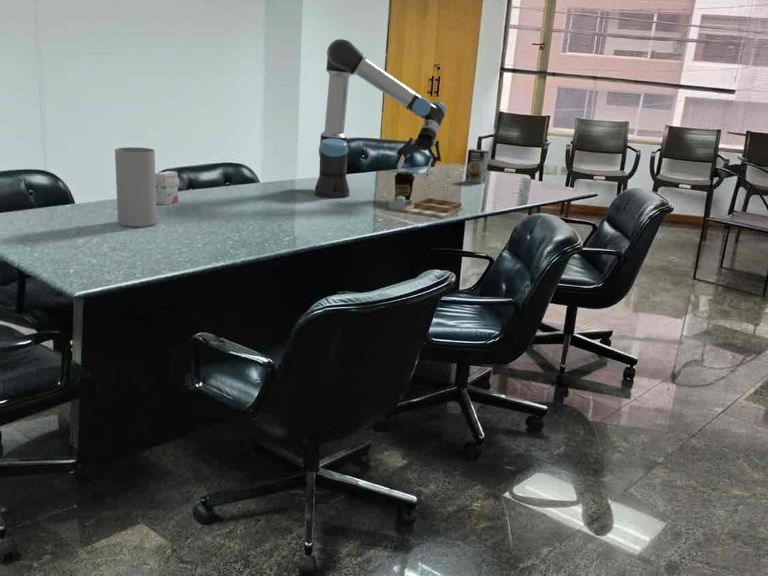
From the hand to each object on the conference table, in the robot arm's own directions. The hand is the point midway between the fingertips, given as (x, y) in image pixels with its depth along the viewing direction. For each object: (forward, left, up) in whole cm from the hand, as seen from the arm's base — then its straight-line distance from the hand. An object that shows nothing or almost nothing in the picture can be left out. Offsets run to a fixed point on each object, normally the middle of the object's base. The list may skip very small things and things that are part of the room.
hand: (413, 170), depth 330 cm
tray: (+16, -15, -13) cm, 25 cm away
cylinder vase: (-56, -107, -13) cm, 121 cm away
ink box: (-72, -73, -13) cm, 103 cm away
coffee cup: (0, -9, -13) cm, 16 cm away
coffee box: (+6, +70, -13) cm, 72 cm away
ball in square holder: (+4, -21, -13) cm, 25 cm away
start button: (+4, -21, -12) cm, 24 cm away
